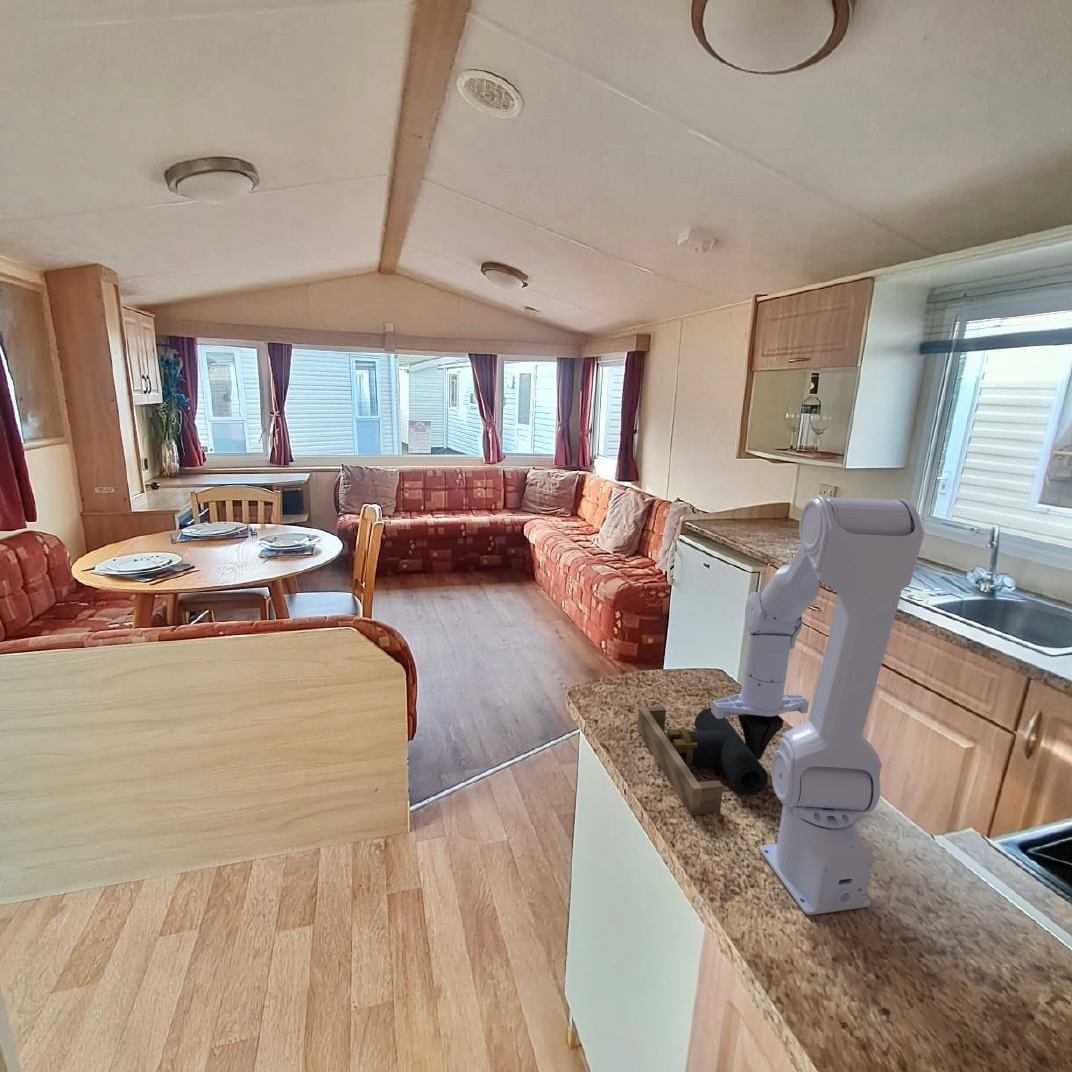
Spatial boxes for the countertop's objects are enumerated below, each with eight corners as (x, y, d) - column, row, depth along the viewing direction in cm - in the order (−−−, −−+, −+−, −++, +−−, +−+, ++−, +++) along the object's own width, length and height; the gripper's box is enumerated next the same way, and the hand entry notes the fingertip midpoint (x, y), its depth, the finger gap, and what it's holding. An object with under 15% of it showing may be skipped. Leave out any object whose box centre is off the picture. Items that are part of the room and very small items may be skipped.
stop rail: (720, 812, 76) (723, 786, 75) (690, 815, 76) (693, 788, 75) (661, 727, 96) (663, 706, 95) (637, 729, 95) (639, 707, 94)
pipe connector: (690, 764, 78) (657, 706, 93) (685, 797, 79) (654, 735, 94) (770, 763, 79) (726, 707, 94) (765, 797, 80) (722, 736, 95)
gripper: (793, 659, 89) (781, 737, 92) (705, 663, 86) (696, 743, 89) (822, 680, 82) (809, 764, 85) (729, 686, 79) (718, 772, 82)
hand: (753, 755), depth 87 cm, fingers closed
